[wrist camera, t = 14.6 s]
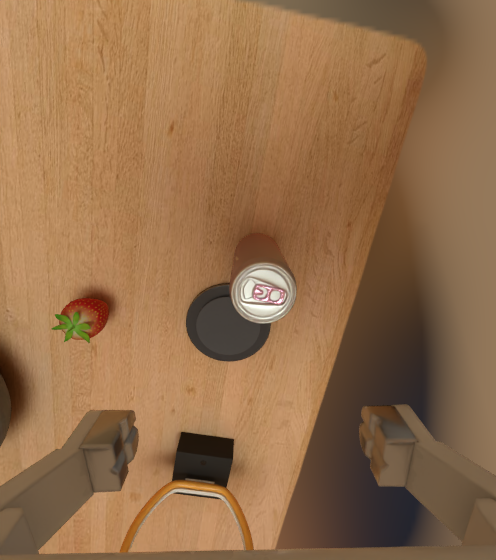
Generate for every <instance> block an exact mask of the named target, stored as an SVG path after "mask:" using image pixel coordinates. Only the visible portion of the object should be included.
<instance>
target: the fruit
mask: <svg viewBox="0 0 496 560" xmlns="http://www.w3.org/2000/svg"><path fill="white" fill-rule="evenodd" d="M108 315H109V310H108V306H107V304H106V303H105V302H103V301H101V300H98V299H91V298H82V299H76V300H74V301H72V302H70V303H69V304H68V305H66V306H65V308H64V309H63V311H62V312H61V315H58V314H55V316H56V318H57V319H59V324H60V325H58V326H56V327H54V328H52V329H54V330H60V329H62V331H63V332H64V333H65V334H66V336H65V341H68V340H69V339H70V338H73V339H77V340H86V341H87V342H88V343H89V342H90V338H92V337H93V336H95V335H97V334H98V333H99V332H100V331H102V329H103V328H104V327H105V325H106V322H107V320H108ZM65 341H64V342H65Z"/></svg>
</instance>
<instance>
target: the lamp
mask: <svg viewBox="0 0 496 560" xmlns="http://www.w3.org/2000/svg"><path fill="white" fill-rule="evenodd" d="M233 445H234V439H227V438H220V437H213V436H206V435H199V434H192V433H185V432H181V436H180V440H179V444H178V448H177V452H176V458H175V465H174V472H173V478H172V482H170V483H168V484H166V485H165V486H164V487H162V488H161V489H160V490H159V491H158V492H156V494H155V495H154V496H153V497H152V498H151V499H150V500H149V501H148V502H147V503H146V504H145V506H144V507H143V508H142V509H141V511H140V512H139V514H138V515H137V516H136V518H135V519H134V521H133V523H132V525H131V526H130V528H129V530H128V532H127V534H126V537H125V539H124V541H123V544H122V546H121V549H120V552H129V551H130V548H131V546H132V544H133V541H134V539H135V537H136V535H137V533H138V531H139V530H140V528H141V526H142V525H143V523H144V522H145V521H146V519H147V518H148V516H149V515H150V514H151V513H152V511H153V510H154V509H155V508H156V507H157V506H158V505H159V504H160V503H161V502H162V501H163V500H164V499H165V498H166V497H167V496H169V495H170V494H172V493H175V494H183V495H191V496H199V497H207V498H215V499H222V500H223V501H224V502H225V503H226V504H227V506H228V507H229V509H230V511H231V512H232V514H233V517H234V519H235V521H236V523H237V526H238V529H239V532H240V535H241V538H242V542H243V547H244V550H254V549H253V543H252V538H251V533H250V530H249V527H248V524H247V521H246V519H245V516H244V514H243V512H242V509H241V507H240V506H239V504H238V502H237V500H236V499H235V497H234V496H233V495H232V493H231V492H230V491H229V490H228V489H227V488H226V487H227V483H228V478H229V474H230V470H231V465H232V461H233Z"/></svg>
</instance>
